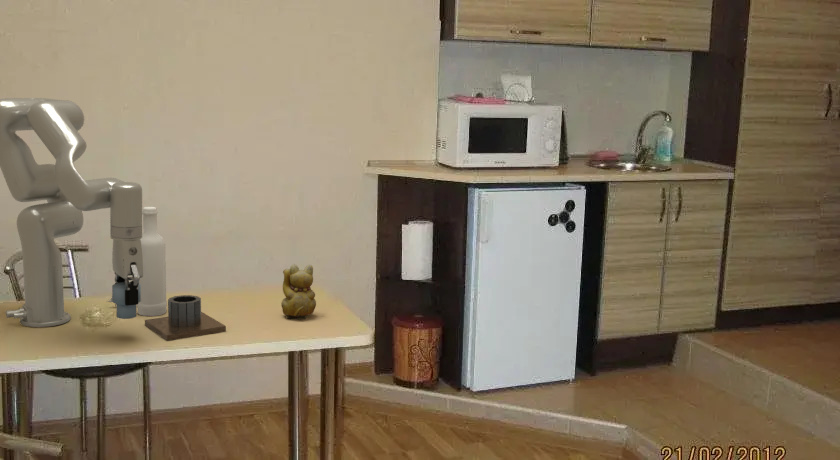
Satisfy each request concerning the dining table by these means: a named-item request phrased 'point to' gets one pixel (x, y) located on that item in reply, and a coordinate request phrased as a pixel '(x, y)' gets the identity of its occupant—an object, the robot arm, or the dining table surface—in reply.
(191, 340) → the dining table surface
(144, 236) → the bottle
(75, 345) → the dining table surface
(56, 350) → the dining table surface
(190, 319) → the copper square plate
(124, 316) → the cap
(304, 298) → the decorative figurine
